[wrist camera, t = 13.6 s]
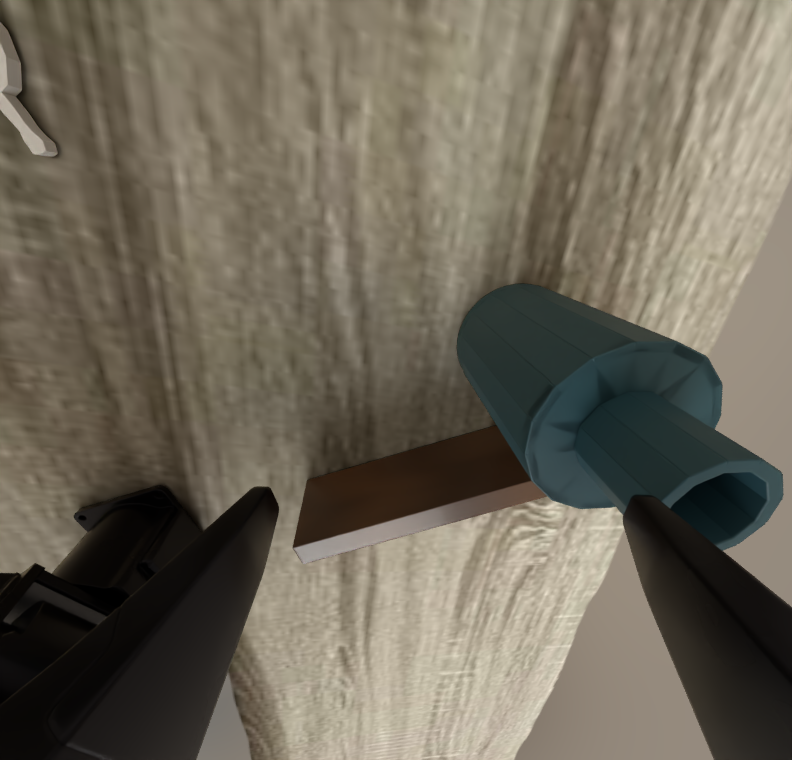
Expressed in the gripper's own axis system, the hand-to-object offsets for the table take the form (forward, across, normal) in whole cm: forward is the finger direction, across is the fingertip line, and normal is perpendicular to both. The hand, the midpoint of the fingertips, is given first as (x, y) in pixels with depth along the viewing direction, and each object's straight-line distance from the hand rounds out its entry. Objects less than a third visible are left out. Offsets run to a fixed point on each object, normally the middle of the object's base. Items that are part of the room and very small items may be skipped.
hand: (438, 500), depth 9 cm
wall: (+12, 0, +10) cm, 15 cm away
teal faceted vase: (+14, -4, +3) cm, 15 cm away
